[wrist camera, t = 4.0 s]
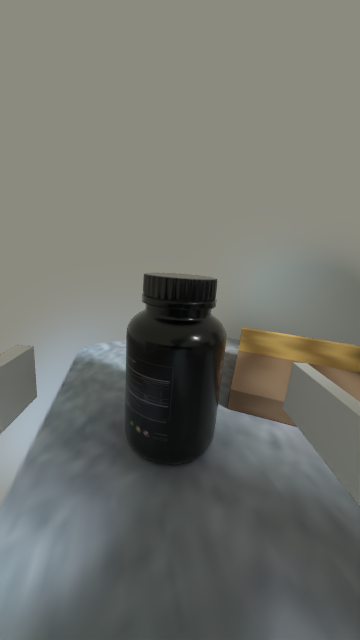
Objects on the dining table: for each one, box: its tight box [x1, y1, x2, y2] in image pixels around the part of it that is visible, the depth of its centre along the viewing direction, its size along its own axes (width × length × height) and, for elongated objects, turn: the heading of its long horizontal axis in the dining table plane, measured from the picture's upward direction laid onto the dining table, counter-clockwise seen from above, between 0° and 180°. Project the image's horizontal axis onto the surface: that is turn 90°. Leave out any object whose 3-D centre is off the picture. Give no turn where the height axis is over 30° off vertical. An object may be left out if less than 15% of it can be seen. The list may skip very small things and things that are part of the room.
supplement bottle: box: [125, 273, 226, 464], centre depth 17 cm, size 7×7×12 cm
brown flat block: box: [228, 327, 360, 426], centre depth 24 cm, size 18×12×5 cm, turn 72°
